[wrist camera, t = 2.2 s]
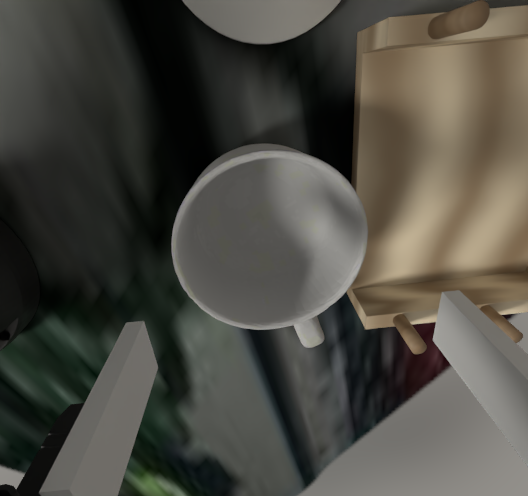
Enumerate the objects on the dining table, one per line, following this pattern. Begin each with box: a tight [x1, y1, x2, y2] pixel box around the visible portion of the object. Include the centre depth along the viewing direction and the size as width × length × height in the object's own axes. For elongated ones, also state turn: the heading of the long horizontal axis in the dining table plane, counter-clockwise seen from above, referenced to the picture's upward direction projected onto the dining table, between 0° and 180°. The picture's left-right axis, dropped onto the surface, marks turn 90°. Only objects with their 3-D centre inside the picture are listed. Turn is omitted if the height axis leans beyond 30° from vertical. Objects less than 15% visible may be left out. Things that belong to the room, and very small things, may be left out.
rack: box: [347, 0, 528, 354], centre depth 21 cm, size 16×19×8 cm
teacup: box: [171, 143, 368, 348], centre depth 22 cm, size 14×11×8 cm
